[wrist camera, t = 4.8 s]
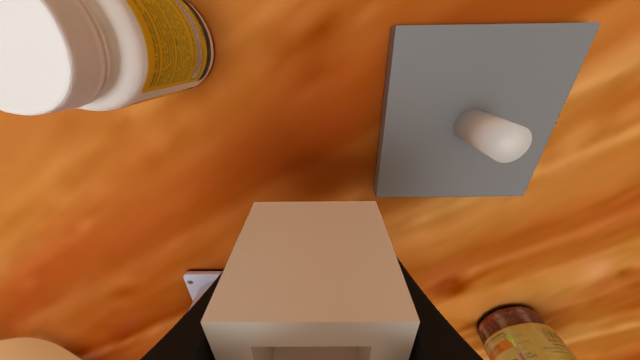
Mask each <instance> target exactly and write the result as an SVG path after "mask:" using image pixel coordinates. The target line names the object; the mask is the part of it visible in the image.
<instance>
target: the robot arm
mask: <svg viewBox="0 0 640 360" xmlns="http://www.w3.org/2000/svg"><path fill="white" fill-rule="evenodd" d="M396 257H397V256H396ZM397 260H398V263H399V265H400V268H401V271H402V274H403V276H404V279H405V282H406V285H407V287H408V290H409V293H410V295H411V298H412V301H413V304H414V306H415V309H416V312H417V315H418V317H419V320H420V324H419V327H418V330H417V334H416V337H415V340H414V344H413V347H412V350H411V354H410V357H409V360H483V359H482V358H481V357H480V356H479V355H478V354H477V353H476V352H475V351H474V350H473V349H472V348H471V347H470V345H469V344H468V343H467V342H466V341H465V340H464V339H463V338H462V337H461V336H460V335H459V334H458V333H457V331H456V330H455V329H454V328H453V327H452V326H451V325H450V324H449V322H448V321H447V320H446V319H445V318H444V317H443V316H442V314H441V313H440V312H439V311H438V310H437V309H436V307H435V306H434V305H433V304H432V302H431V301H430V300H429V299H428V298H427V296H426V295H425V294H424V293H423V291H422V290H421V289H420V288H419V286H418V285H417V284H416V282H415V281H414V280H413V278H412V277H411V276H410V274H409V273H408V272H407V270H406V269H405V268H404V266H403V265H402V263H401V262H400V261H399V259H398V258H397ZM223 271H224V270H223ZM223 271H188V272H186V273H185V274H184V276H183V278H184V281H185V283H186V286H187V288H188V291H189V293H190V296H191V298H192V301H193V302H192V304H191V306H190V308H189V310H188V312H187V313H186V314H185V315H184V316H183V317H182V318H181V319H180V320H179V322H178V323H177V324H176V325H175V326H174V327H173V328H172V329H171V330H170V331H169V332H168V333H167V334H166V335H165V336H164V337H163V338H162V339H161V340H160V341H159V342H158V343H157V344H156V345H155V346H154V347H153V348H152V349H151V350H150V351H149V352H148V353H147V354H146V355H145V356H144V357H142V358H141V359H140V360H215V357H214V355H213V352H212V350H211V347H210V345H209V342H208V340H207V337H206V335H205V332H204V330H203V328H202V325H201V323H200V322H201V320H202V318H203V315H204V313H205V311H206V309H207V306H208V304H209V302H210V300H211V297H212V295H213V293H214V291H215V289H216V286H217V284H218V282H219V280H220V277H221V275H222V273H223Z"/></svg>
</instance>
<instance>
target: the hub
mask: <svg viewBox="0 0 640 360" xmlns="http://www.w3.org/2000/svg"><path fill="white" fill-rule="evenodd" d="M200 323H201V325H202V328H203V330H204V332H205V335H206V337H207V340H208V342H209V345H210V347H211V350H212V352H213V355H214V357H215V360H409V357H410V354H411V350H412V347H413V344H414V340H415V337H416V334H417V330H418V327H419V324H420V320H419V317H418V315H417V312H416V309H415V306H414V304H413V301H412V298H411V295H410V293H409V290H408V287H407V285H406V282H405V279H404V276H403V274H402V271H401V268H400V265H399V263H398V260H397V257H396V255H395V252H394V249H393V246H392V244H391V241H390V238H389V235H388V233H387V230H386V227H385V224H384V222H383V219H382V216H381V214H380V211H379V208H378V205H377V203H376V201H316V202H254V203H253V206H252V208H251V210H250V212H249V215H248V217H247V219H246V221H245V224H244V226H243V228H242V230H241V233H240V235H239V237H238V239H237V242H236V244H235V246H234V248H233V250H232V253H231V255H230V257H229V259H228V262H227V264H226V266H225V268H224V271H223V273H222V275H221V277H220V280H219V282H218V284H217V286H216V289H215V291H214V293H213V295H212V297H211V300H210V302H209V304H208V306H207V309H206V311H205V313H204V315H203V318H202V320H201V322H200Z"/></svg>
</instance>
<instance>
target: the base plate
mask: <svg viewBox="0 0 640 360" xmlns="http://www.w3.org/2000/svg"><path fill="white" fill-rule="evenodd" d="M600 23H601V22H592V23H528V24H464V25H400V26H393V27H391V32H390V41H389V50H388V60H387V69H386V79H385V88H384V97H383V107H382V116H381V126H380V135H379V144H378V154H377V163H376V173H375V182H374V192H375V195H376V197H478V196H523V195H524V192H525V190H526V188H527V186H528V184H529V181H530V179H531V177H532V175H533V172H534V170H535V168H536V166H537V164H538V161H539V159H540V157H541V155H542V152H543V150H544V148H545V146H546V144H547V141H548V139H549V137H550V135H551V132H552V130H553V128H554V126H555V124H556V121H557V119H558V117H559V115H560V112H561V110H562V108H563V106H564V104H565V101H566V99H567V97H568V95H569V92H570V90H571V88H572V86H573V84H574V81H575V79H576V77H577V75H578V72H579V70H580V68H581V66H582V64H583V61H584V59H585V57H586V55H587V52H588V50H589V48H590V46H591V44H592V41H593V39H594V37H595V35H596V32H597V30H598V28H599V26H600Z"/></svg>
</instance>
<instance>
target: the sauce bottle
mask: <svg viewBox="0 0 640 360" xmlns="http://www.w3.org/2000/svg"><path fill="white" fill-rule="evenodd" d="M478 333H479V336H480V338H481V340H482V342H483V345H484V349H485V351H486V353H487V355H488V356H489V358H490V360H578V359H577V358H576V357H575V355H574V354H573V353H572V352H571V351H570V349H569V348H568V347H567V346H566V345H565V343H564V342H563V341H562V340H561V338H560V337H559V336H558V335H557V334H556V332H555V331H554V330H553V329H552V328H551V327H550V326H548V325H546V323H545V322H544V321H543V319H542V318H541V317H540V316H539V314H538V313H536V312H535V311H533V310H532V309H530V308H527V307H522V306H516V307H509V308H503V309H499V310H496V311H495V312H493V313H491V314H490V315H488V316H486V317H485V318H484V319H483V320H482V321H481V322H480V324H479V325H478Z"/></svg>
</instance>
